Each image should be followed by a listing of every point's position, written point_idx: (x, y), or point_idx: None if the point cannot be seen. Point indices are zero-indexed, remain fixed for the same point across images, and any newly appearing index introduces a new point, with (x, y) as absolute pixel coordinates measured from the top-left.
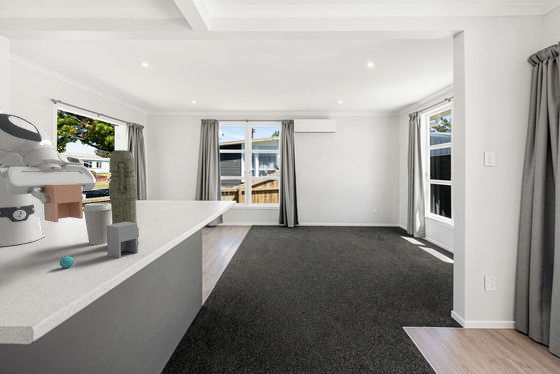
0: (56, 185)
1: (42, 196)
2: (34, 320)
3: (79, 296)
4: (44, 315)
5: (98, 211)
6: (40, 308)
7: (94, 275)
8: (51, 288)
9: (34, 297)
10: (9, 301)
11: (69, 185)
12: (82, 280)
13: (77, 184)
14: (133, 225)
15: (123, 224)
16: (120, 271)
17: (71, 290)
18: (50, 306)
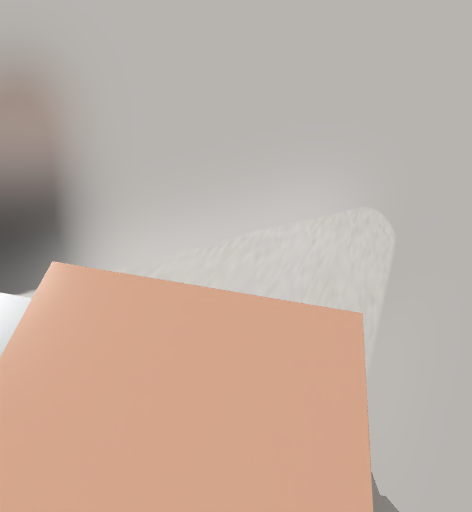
0: (329, 310)
1: (372, 476)
2: (370, 213)
3: (305, 223)
4: (358, 214)
5: None
6: (353, 238)
7: (233, 281)
8: (310, 298)
9: (343, 287)
10: (373, 312)
11: (187, 289)
12: (261, 279)
13: (96, 271)
14: (4, 294)
15: (5, 329)
16: (199, 249)
17: (298, 255)
18: (343, 231)
